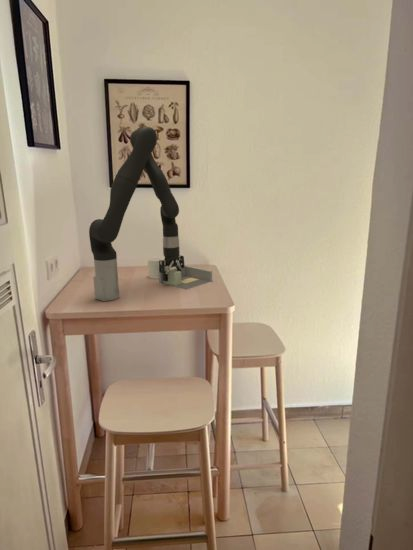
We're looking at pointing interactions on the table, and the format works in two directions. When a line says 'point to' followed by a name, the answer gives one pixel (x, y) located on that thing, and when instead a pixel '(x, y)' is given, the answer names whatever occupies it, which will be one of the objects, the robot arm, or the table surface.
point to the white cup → (154, 267)
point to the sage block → (173, 277)
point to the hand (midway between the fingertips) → (172, 279)
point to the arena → (191, 277)
